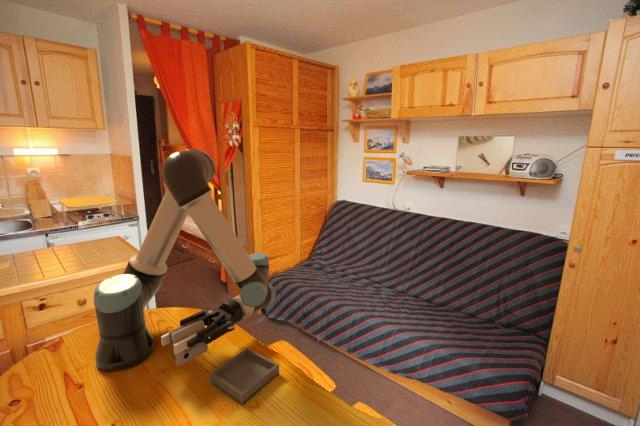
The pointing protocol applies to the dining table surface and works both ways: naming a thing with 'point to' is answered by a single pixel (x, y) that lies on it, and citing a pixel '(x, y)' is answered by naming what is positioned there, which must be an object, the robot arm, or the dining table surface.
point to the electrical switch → (184, 333)
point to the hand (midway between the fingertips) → (168, 345)
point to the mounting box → (244, 375)
